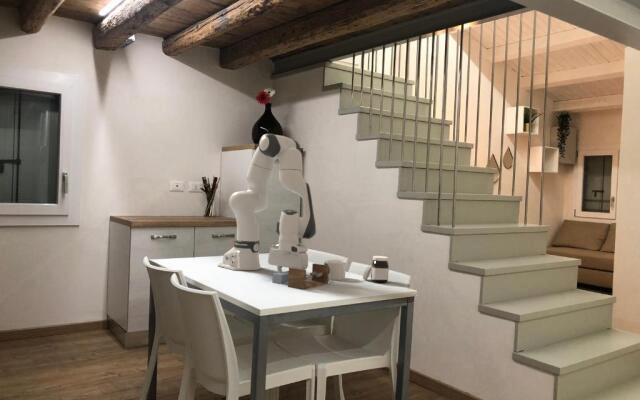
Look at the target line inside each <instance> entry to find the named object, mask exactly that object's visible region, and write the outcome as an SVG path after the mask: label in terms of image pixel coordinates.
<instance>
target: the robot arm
mask: <svg viewBox="0 0 640 400" xmlns="http://www.w3.org/2000/svg"><path fill="white" fill-rule="evenodd" d="M302 157H303V156H302V153H301V145H300V143H299V142H298V141H297V140H296V139H294V138H290V137H287V136H284V135H279V134H273V133H265V134H263V135H262V136H261V137H260V139H259V141H258V146H257V148H255V151H254V154H253V156H252V158H251V161H250V164H249V166H248V170H247V173H246V176H245V177H246V180H247V190H240V191H236V192H234V193H232V194H231V195H230V197H229V199H228V205H229V207H230V209H231V210H232V211H233V213H234V217H235V221H236V222H235V223H236V240H232V243H233V247H232V248H231V249H229V250H228V251H227V252H225V253H224V255H222V262H220V263H218V264H217V267H220V268H224V269H228V270H232V271H256V270H261V267H262V266H261V263H260V253H259V250H260V240H259V239H260V224H259V223H258V222H257V219H256V214H255V213H259V212H263V211H264V210H266V209H267V208H268V206H269V198H268V197H269V196H268V195H267V193H268V192H267V191H268V190H267V189H268V183H269V180H270V177H271V174H272V171H273V167H274V164H275V162H276V160H278V162H279V163H278V164H279V168H278V179H279V180H278V181H279V183H280V185H281V186H282V187H283V188H284V189H285V190H287V191H289V192H291V193H295V194H296V195H298V196H299V197H300V198H301V199H302V201H303V202H302V203H303V209H304V216H299V213H298V211H297V210H294V209H283V210H282V211H281V214H280V216H279V218H278V219H277V220H276V231H275V233H277V235H279V236H278V244H272V245H270V247H269V253H268V259H267V262H268V265H270V266H276V269H277V273H279V272H283V270H282V268H288V269H289V268H297V269H304V270H307V269H308V267H309V256H308V253H307V252H308V249H309V248H308V247H307V246H306V245H304V244H302V243H301V242H299V239H300V238H301V239H306V240H307V239H308V240H310V239H312V238H313V237H314V236H315V235H316V233H317V229H318V228H317V223H316V219H315V214H314V206H313V198H312V194H311V188H310V185H309V182H307V181H305V178H304V175H303V158H302Z"/></svg>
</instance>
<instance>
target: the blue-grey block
mask: <svg viewBox="0 0 640 400" xmlns="http://www.w3.org/2000/svg"><path fill="white" fill-rule="evenodd" d="M288 276H289V270H286V271H285V270H284V271H282V272H274V273H272V277H271V279H272V282H271V283H274V284H279V285H284V284H288Z"/></svg>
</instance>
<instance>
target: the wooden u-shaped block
mask: <svg viewBox="0 0 640 400" xmlns="http://www.w3.org/2000/svg"><path fill="white" fill-rule="evenodd" d="M288 271H289V276H288V283H287V287H289V288H295V289H300V290H307V289H310V288H311V289H312V288H315V287H319V286H320V287H321V286H324V285H328V284H329V281H330V279H329V266H328V265H324V264H320V263H312V267H311V272H310V273H309V275H310V276H311V279H309V276H308V275H307V269H297V268H288Z"/></svg>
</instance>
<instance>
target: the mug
mask: <svg viewBox="0 0 640 400" xmlns="http://www.w3.org/2000/svg"><path fill="white" fill-rule="evenodd" d="M323 262H324V263H323V265H328V266H329V281H330V280H331V281H332V280H334V281H341V279H343V280H345V279H346V271H347V270H346V269H347V261H346V260H342V259H330V258H329V259H328V258H326V259H324V260H323Z"/></svg>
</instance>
